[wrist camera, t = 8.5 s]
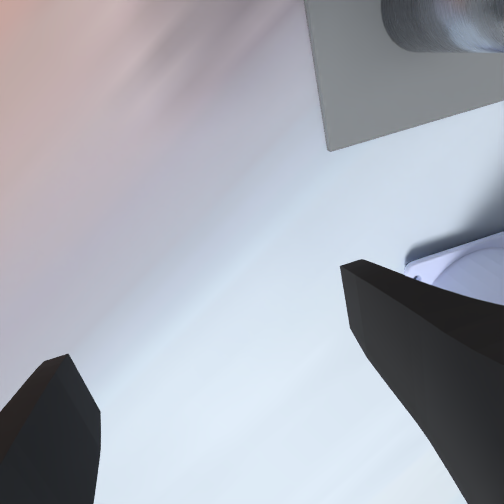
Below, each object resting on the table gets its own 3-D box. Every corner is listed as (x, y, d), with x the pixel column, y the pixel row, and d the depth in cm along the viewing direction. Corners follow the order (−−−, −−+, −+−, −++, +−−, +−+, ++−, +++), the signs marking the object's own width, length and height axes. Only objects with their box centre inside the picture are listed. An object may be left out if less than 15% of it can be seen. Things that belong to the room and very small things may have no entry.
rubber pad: (521, 92, 21) (527, 93, 21) (327, 150, 20) (330, 152, 20) (533, -178, 17) (541, -183, 16) (285, -119, 16) (288, -123, 15)
